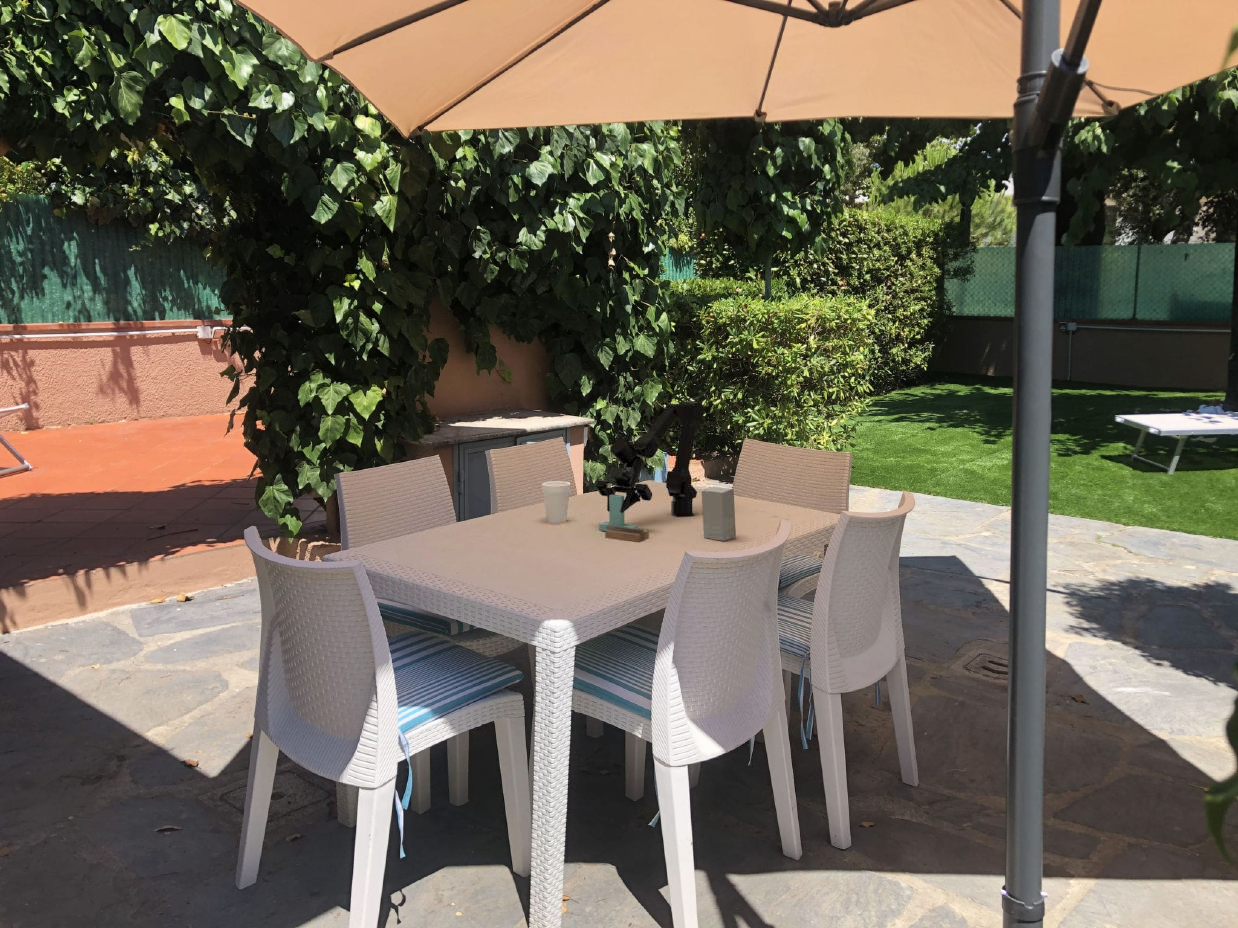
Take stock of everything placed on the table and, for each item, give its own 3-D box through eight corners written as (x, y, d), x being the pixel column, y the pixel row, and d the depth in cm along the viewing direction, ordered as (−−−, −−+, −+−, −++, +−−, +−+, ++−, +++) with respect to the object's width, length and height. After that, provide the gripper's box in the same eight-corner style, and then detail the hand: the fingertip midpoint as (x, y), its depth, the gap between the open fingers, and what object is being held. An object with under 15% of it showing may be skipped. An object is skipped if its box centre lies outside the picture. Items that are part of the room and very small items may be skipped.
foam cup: (575, 519, 335) (575, 482, 333) (562, 525, 327) (562, 487, 325) (551, 517, 339) (550, 480, 337) (537, 523, 331) (537, 485, 329)
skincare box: (736, 538, 307) (736, 488, 305) (722, 542, 302) (722, 491, 300) (714, 534, 313) (715, 485, 310) (700, 538, 308) (700, 488, 305)
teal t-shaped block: (605, 527, 322) (605, 492, 320) (637, 531, 316) (637, 495, 314) (599, 530, 318) (598, 494, 317) (631, 534, 312) (631, 498, 311)
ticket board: (615, 533, 315) (615, 522, 315) (649, 537, 309) (649, 526, 308) (604, 537, 310) (604, 526, 309) (639, 542, 303) (639, 531, 303)
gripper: (597, 455, 321) (579, 494, 313) (647, 459, 311) (631, 499, 304) (610, 475, 329) (593, 514, 321) (659, 480, 319) (643, 519, 312)
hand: (614, 511), depth 314 cm, fingers closed on teal t-shaped block, 4 cm apart
